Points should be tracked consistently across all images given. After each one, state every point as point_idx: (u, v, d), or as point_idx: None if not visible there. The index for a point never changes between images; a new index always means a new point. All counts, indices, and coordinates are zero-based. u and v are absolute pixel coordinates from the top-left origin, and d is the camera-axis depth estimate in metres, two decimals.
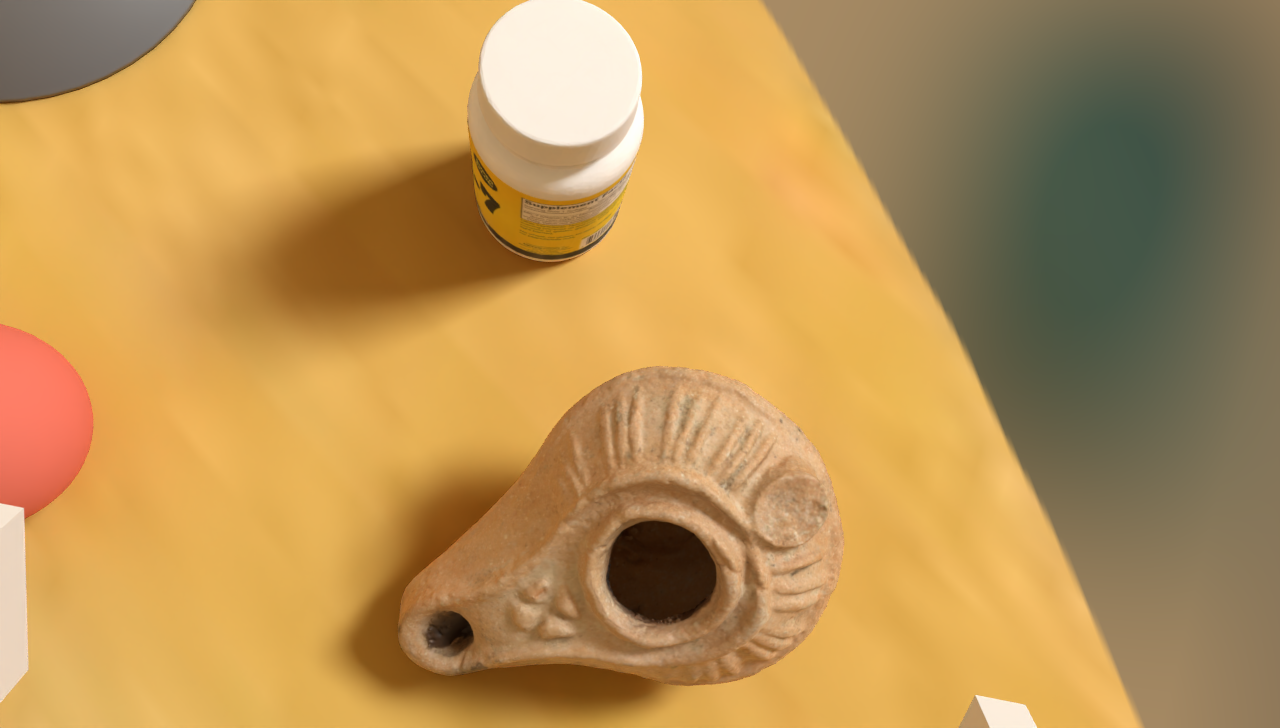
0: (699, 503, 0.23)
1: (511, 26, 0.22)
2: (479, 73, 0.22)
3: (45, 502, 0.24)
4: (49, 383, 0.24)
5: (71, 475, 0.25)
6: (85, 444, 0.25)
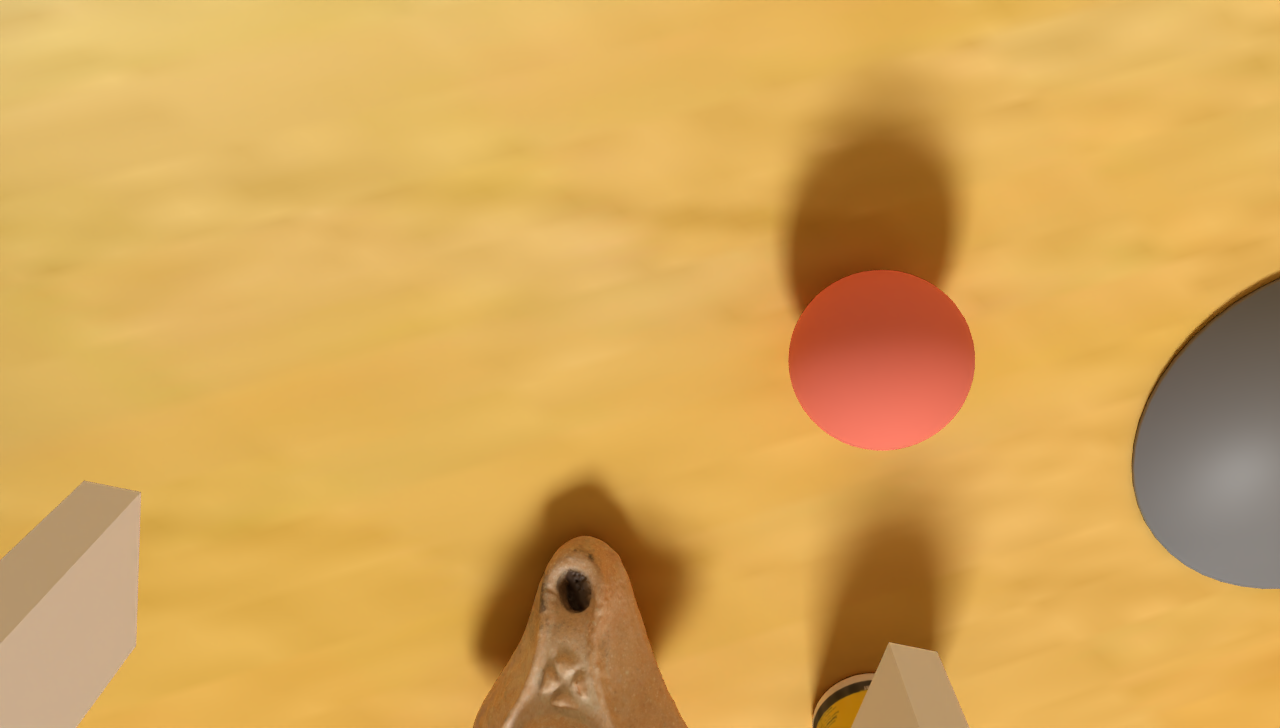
0: None
1: None
2: None
3: None
4: None
5: None
6: None
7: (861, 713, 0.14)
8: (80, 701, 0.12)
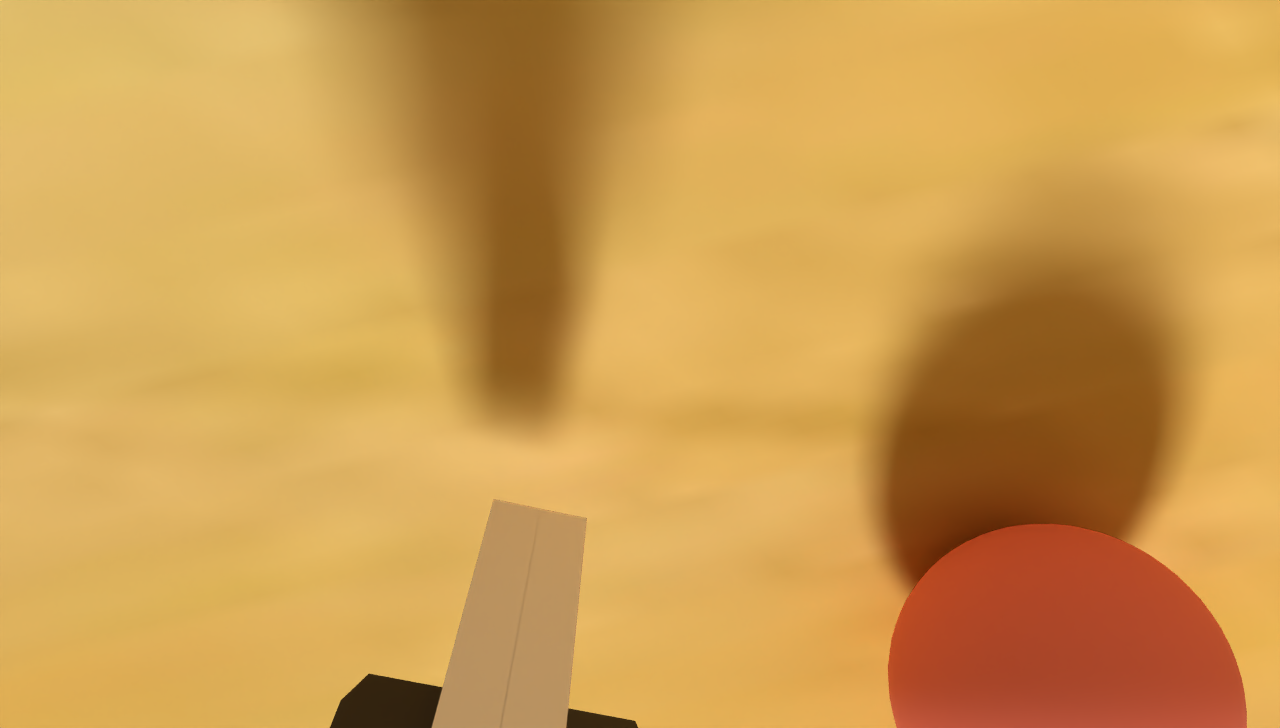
0: None
1: None
2: None
3: (896, 723, 0.17)
4: None
5: None
6: None
7: None
8: None
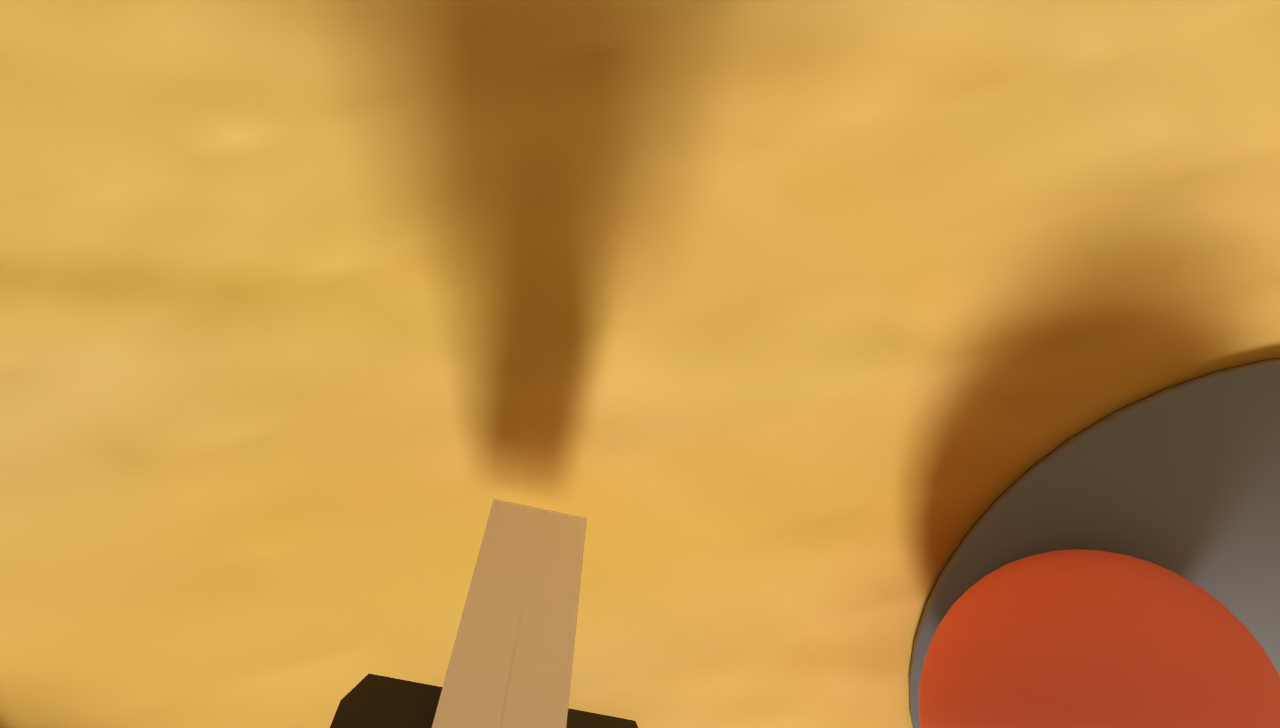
0: None
1: None
2: None
3: None
4: None
5: None
6: None
7: None
8: None
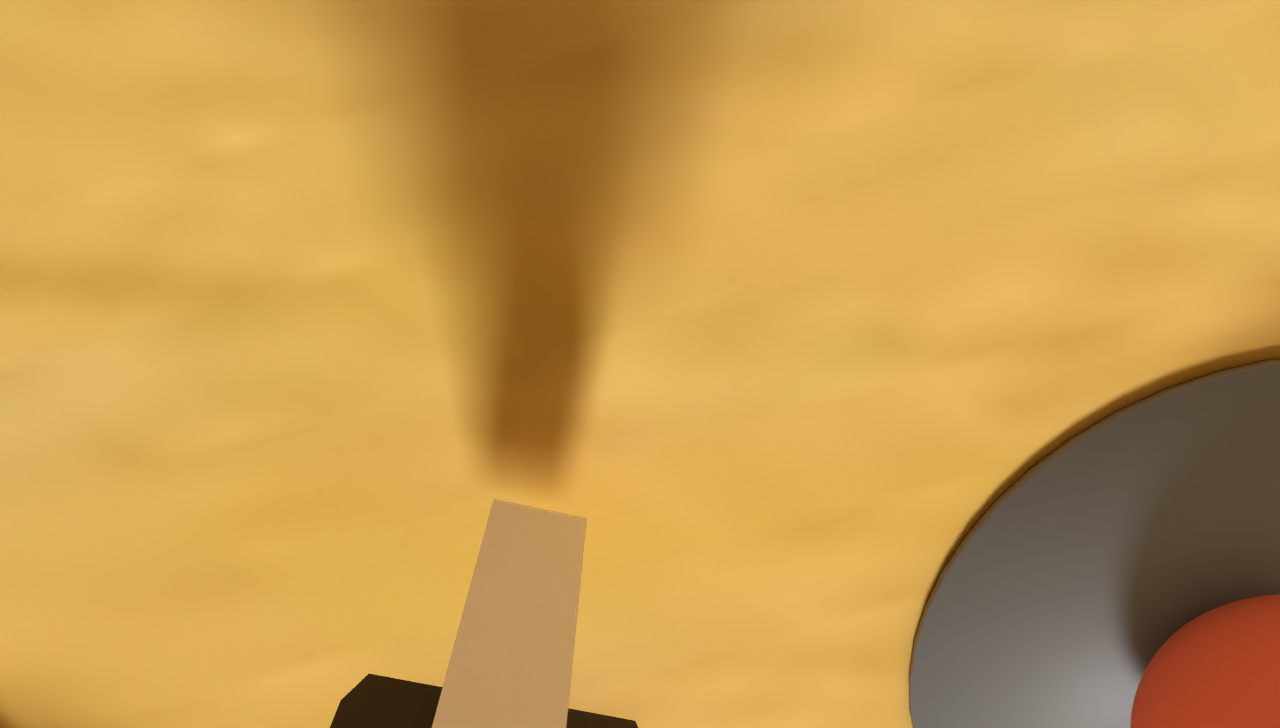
0: None
1: None
2: None
3: None
4: None
5: None
6: None
7: None
8: None
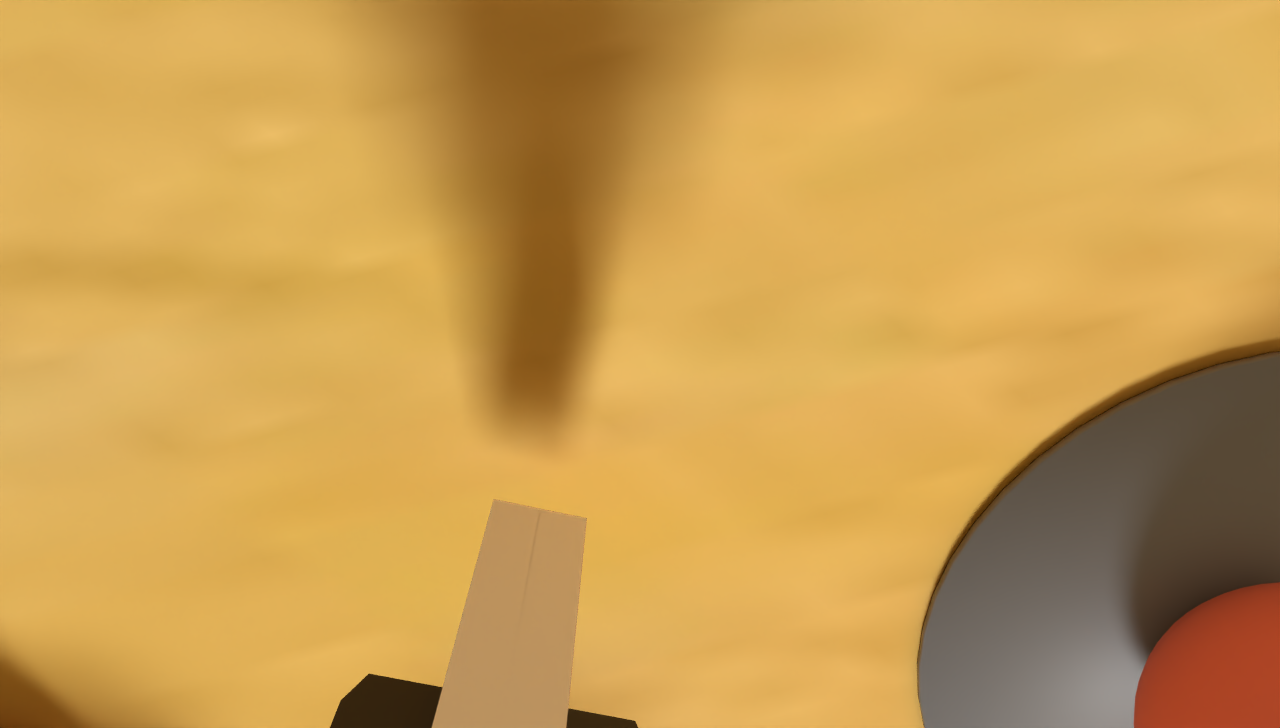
0: None
1: None
2: None
3: None
4: None
5: None
6: None
7: None
8: None
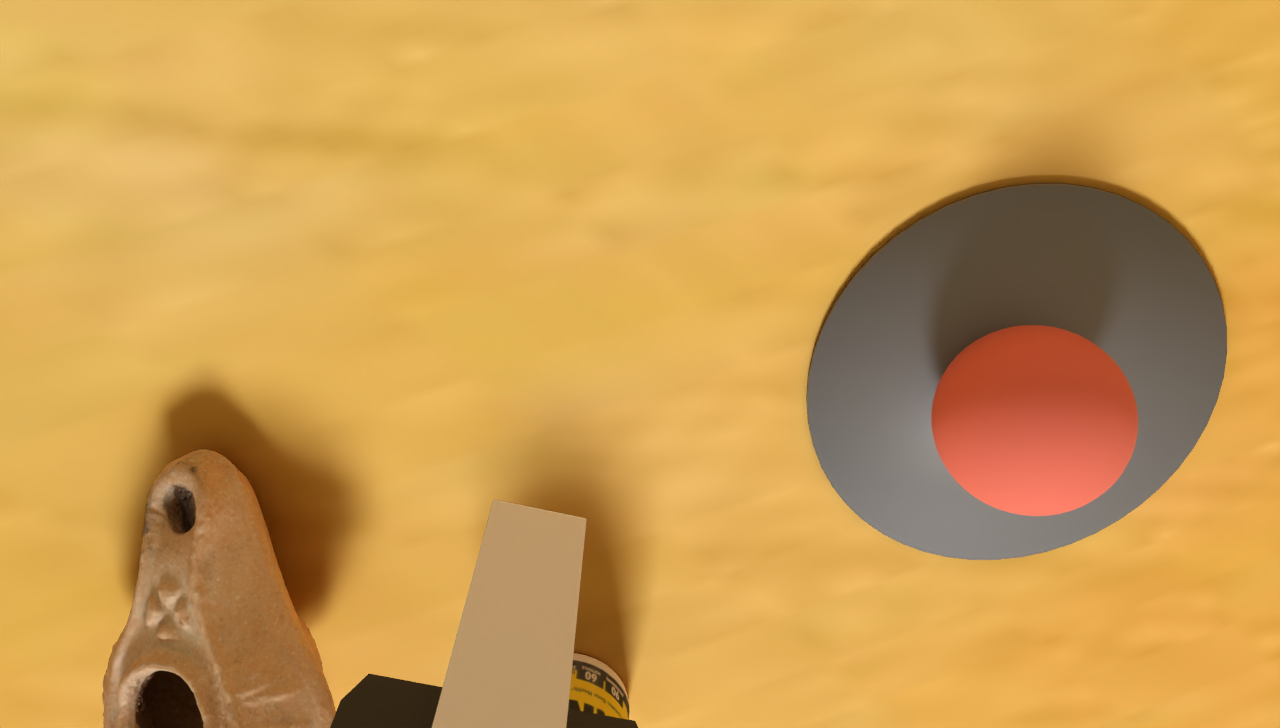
0: None
1: None
2: None
3: None
4: (1016, 513, 0.27)
5: None
6: None
7: None
8: None
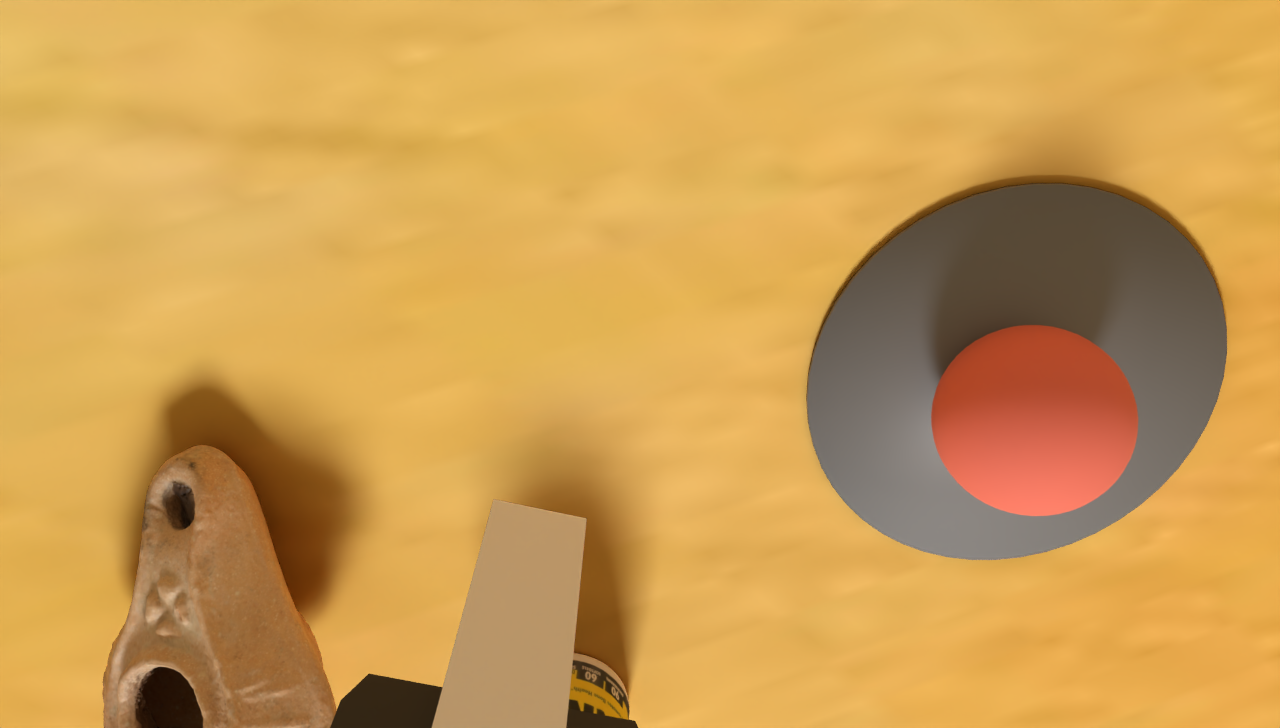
0: None
1: None
2: None
3: None
4: (1016, 513, 0.27)
5: None
6: None
7: None
8: None
